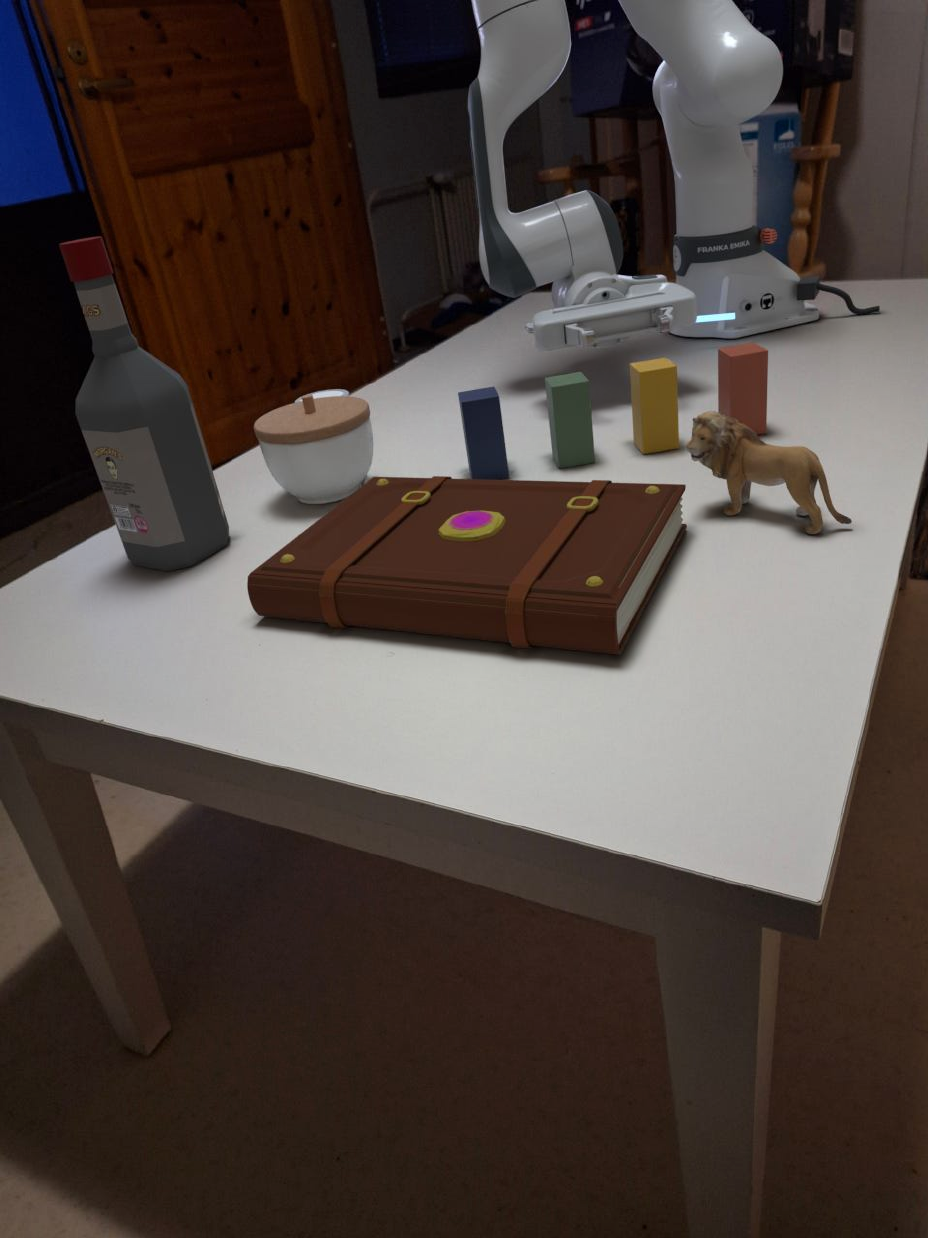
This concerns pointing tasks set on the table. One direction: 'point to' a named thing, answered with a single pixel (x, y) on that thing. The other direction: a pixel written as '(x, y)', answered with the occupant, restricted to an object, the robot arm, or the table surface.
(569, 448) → the sage block
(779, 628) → the table surface
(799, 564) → the table surface
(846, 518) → the lion figurine
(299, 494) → the lidded bowl
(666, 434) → the mustard block
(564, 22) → the robot arm
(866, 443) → the table surface
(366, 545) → the book
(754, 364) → the terracotta block
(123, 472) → the liquor
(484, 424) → the navy block
